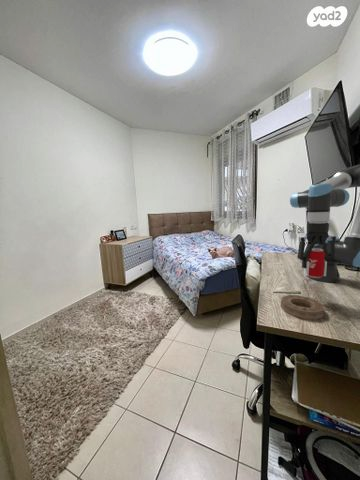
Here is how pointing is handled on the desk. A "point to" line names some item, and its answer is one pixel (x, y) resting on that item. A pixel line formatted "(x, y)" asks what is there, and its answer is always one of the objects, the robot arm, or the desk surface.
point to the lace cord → (286, 291)
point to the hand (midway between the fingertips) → (314, 275)
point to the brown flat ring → (311, 312)
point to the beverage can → (316, 263)
